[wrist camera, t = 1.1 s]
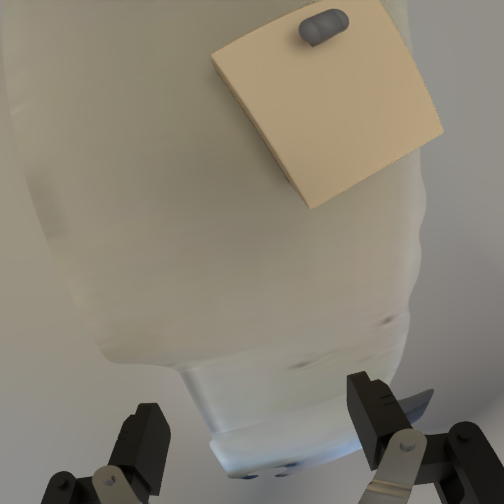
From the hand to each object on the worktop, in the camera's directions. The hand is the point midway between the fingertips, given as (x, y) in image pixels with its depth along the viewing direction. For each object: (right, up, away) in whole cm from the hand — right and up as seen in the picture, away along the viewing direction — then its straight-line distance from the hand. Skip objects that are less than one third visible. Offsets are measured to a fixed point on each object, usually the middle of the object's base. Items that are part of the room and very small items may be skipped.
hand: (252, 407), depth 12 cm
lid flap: (+8, +20, +11) cm, 24 cm away
